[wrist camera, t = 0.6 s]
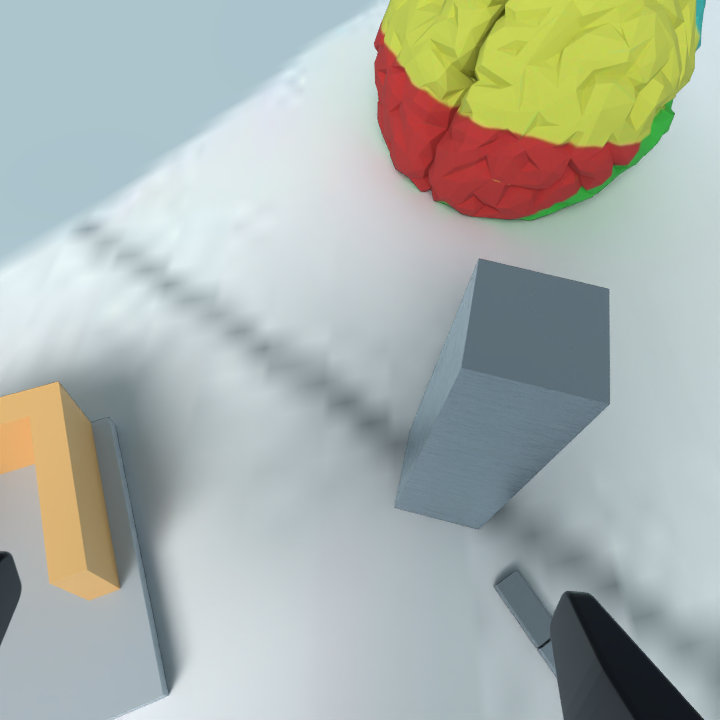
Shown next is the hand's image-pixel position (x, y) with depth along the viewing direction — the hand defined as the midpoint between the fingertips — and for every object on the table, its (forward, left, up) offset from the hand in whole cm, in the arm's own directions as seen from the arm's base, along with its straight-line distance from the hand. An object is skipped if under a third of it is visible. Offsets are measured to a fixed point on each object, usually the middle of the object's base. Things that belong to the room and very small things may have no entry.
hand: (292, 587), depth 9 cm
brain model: (+30, -22, -16) cm, 40 cm away
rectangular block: (+6, -8, -16) cm, 19 cm away
